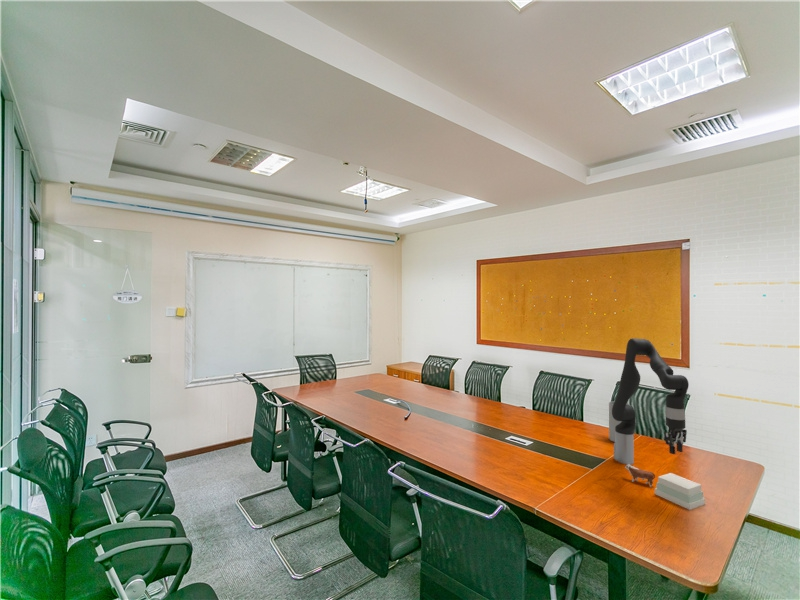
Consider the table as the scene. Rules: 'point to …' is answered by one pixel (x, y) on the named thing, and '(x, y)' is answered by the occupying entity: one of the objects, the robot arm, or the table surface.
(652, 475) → the bull figurine
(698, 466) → the table surface
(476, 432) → the table surface
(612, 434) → the cylinder vase
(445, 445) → the table surface
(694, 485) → the white stepped block
